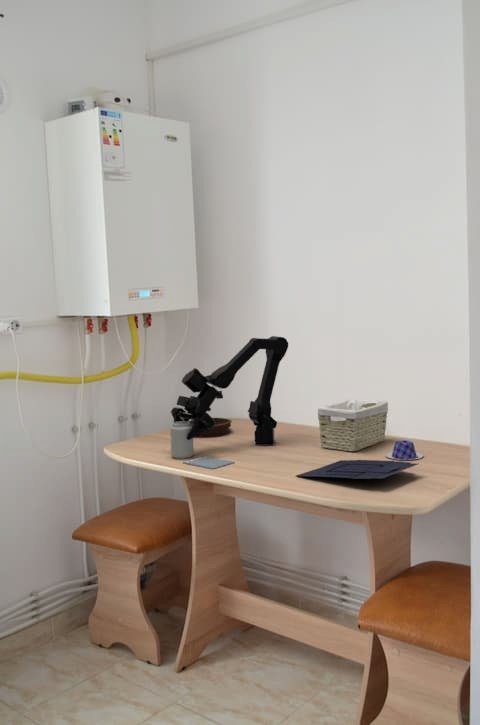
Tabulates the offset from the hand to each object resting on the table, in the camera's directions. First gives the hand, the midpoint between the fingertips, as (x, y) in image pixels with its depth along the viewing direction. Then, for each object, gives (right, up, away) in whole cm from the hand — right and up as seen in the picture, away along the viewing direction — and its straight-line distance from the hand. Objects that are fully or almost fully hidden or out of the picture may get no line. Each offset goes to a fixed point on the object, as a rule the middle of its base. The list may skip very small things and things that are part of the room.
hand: (179, 437), depth 259 cm
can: (+1, -7, +1) cm, 7 cm away
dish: (+9, -3, +39) cm, 41 cm away
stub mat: (+10, -8, -9) cm, 15 cm away
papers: (+56, -9, -30) cm, 64 cm away
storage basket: (+61, -4, +12) cm, 62 cm away
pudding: (+75, -6, -8) cm, 75 cm away
